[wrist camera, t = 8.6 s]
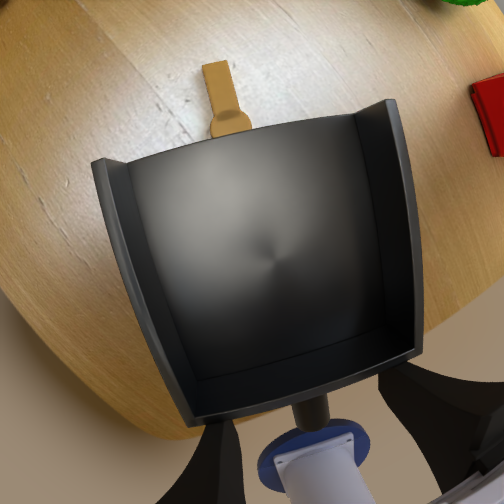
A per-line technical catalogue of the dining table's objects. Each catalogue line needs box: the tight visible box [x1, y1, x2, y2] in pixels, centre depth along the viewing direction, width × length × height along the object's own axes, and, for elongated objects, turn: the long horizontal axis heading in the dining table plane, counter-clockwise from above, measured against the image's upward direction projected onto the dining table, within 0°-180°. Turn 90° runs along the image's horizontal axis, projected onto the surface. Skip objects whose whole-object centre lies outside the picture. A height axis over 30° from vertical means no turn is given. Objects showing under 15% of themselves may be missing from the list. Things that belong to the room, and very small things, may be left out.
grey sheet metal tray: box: [91, 99, 424, 432], centre depth 11 cm, size 13×10×3 cm
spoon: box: [202, 60, 252, 138], centre depth 15 cm, size 5×2×1 cm, turn 14°
